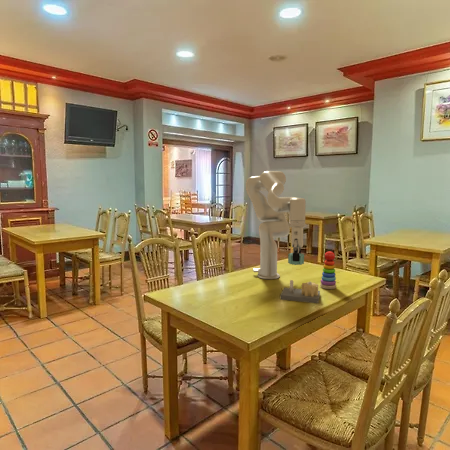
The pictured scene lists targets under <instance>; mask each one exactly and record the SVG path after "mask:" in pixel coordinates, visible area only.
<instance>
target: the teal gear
mask: <svg viewBox="0 0 450 450" xmlns="http://www.w3.org/2000/svg"><path fill="white" fill-rule="evenodd" d="M287 255H288V257H287V259H288V261H287V263H288V264H289V265H294V266H302V265H304V264H305V254H304V253H302V252H301V253H300V254H299V261H293V252H290V253H288V254H287Z"/></svg>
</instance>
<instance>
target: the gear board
mask: <svg viewBox="0 0 450 450" xmlns="http://www.w3.org/2000/svg"><path fill="white" fill-rule="evenodd" d="M320 295H321V290H319V284H318V283H315V282H312V281H307V282H302V283H301V288H296V287H295V288H294V280H292V279H290V280H289V287H283V289H282V291H281V293H280V296H279V298H280V300H283V301H292V302H300V303H301V302H303V303H312V304H313V303H314V304H319V301H320Z"/></svg>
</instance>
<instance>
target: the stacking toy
mask: <svg viewBox="0 0 450 450" xmlns="http://www.w3.org/2000/svg"><path fill="white" fill-rule="evenodd" d="M324 259H325V260H324V264H323V266H322V267H323V269H322V276H321V280H320V284H319V286H320V288H322V289H325V290H334V289H337V281H336V279H337V277H336V269H335V267H336V266H335V261H334V260H335V259H336V255H335V253H334V252H333V251H326V252H325V253H324Z"/></svg>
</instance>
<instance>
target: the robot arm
mask: <svg viewBox="0 0 450 450" xmlns="http://www.w3.org/2000/svg"><path fill="white" fill-rule="evenodd" d="M286 180H287V178H286V175H285V173H284V172H283V171H280V170H266V171H263V172H262V173H261V174H260V175H255V176H250V177H248V178H247V179H246V182H245V189H246V193H247V196H248V197H249V199H250V201H251V203H252V205H253V210H254V212H255V215H256V218H257V220H258V221H259V222H261V223H260V224H259V226H258V234H259V245H260V247H259V249H260V250H259V251H260V252H259V253H260V254H259V256H260V259H259V260H260V261H259V263H260V264H259V265H260V266H259V267H258V268H255V267H254V268H252V272H254V273H257V278H260V279H263V280H277V279H279V278H280V276H281V275H280V273H278V244H277V242H276V241H275V239H276V238H277V239H278V238H285V237H287V236H289V234H290V228H291V247H292V253H293V261H299V254H300V253H302V250H301V249H302V248H303V246H304V228H306V199H305V198H302V197H296V196H281V195H282V193H284V190H285V186H284V185H285V184H286ZM260 191H261V192H260ZM263 191H266V192H268V193H267V197H266V196H265V195H264V194H263V193H262V192H263ZM285 213H288V215H289V218H287V217H286V214H285ZM288 220H289V221H288Z"/></svg>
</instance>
